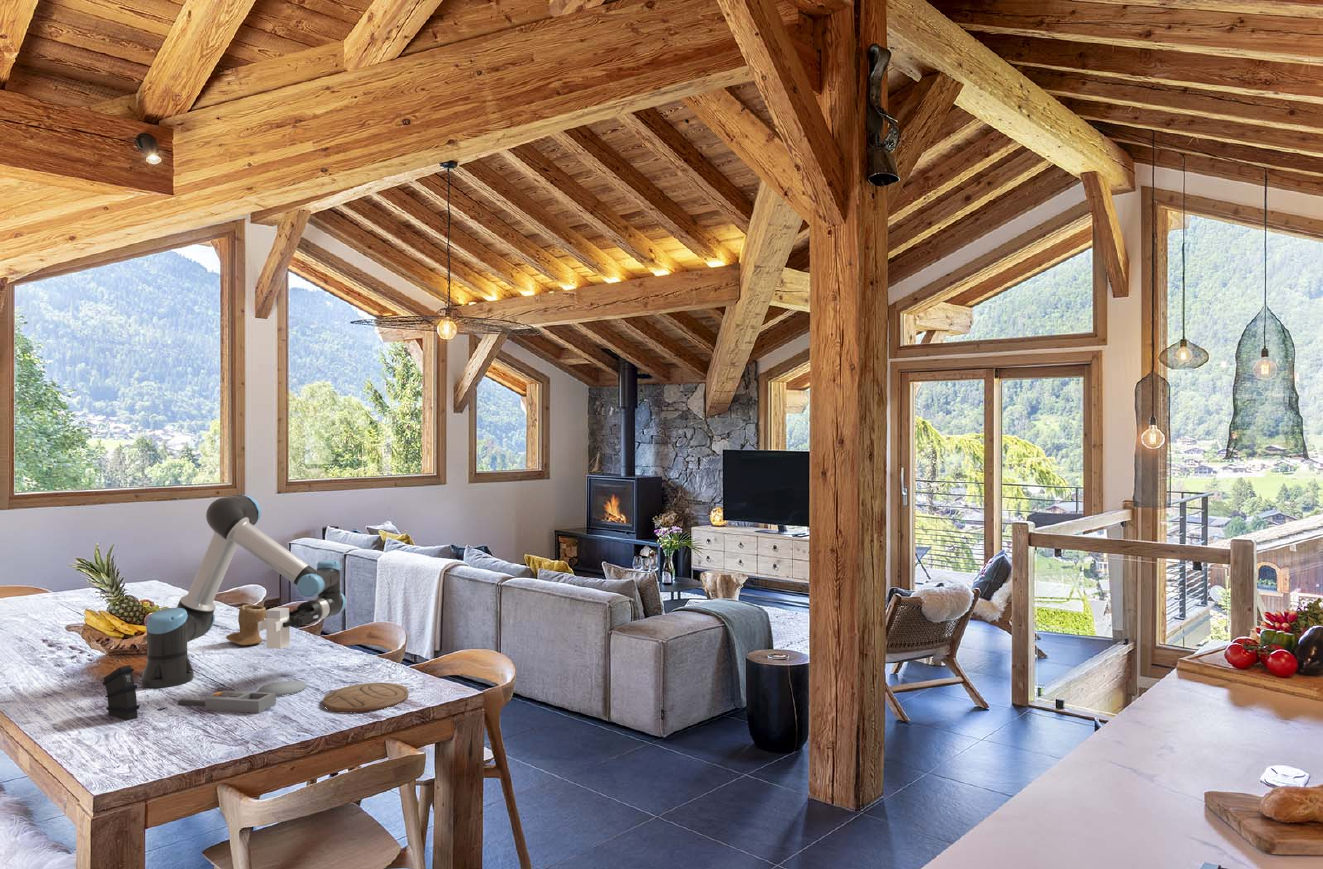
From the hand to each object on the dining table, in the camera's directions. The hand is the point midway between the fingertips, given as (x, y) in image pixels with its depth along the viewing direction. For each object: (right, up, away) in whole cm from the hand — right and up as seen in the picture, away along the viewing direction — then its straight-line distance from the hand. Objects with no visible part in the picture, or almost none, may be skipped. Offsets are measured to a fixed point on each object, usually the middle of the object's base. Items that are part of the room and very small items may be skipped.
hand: (267, 626), depth 267 cm
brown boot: (-40, -22, +70) cm, 83 cm away
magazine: (-36, -23, -16) cm, 45 cm away
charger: (+1, -7, +5) cm, 9 cm away
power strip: (-9, -22, -8) cm, 26 cm away
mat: (+2, -22, +7) cm, 23 cm away
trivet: (+32, -22, -3) cm, 39 cm away
